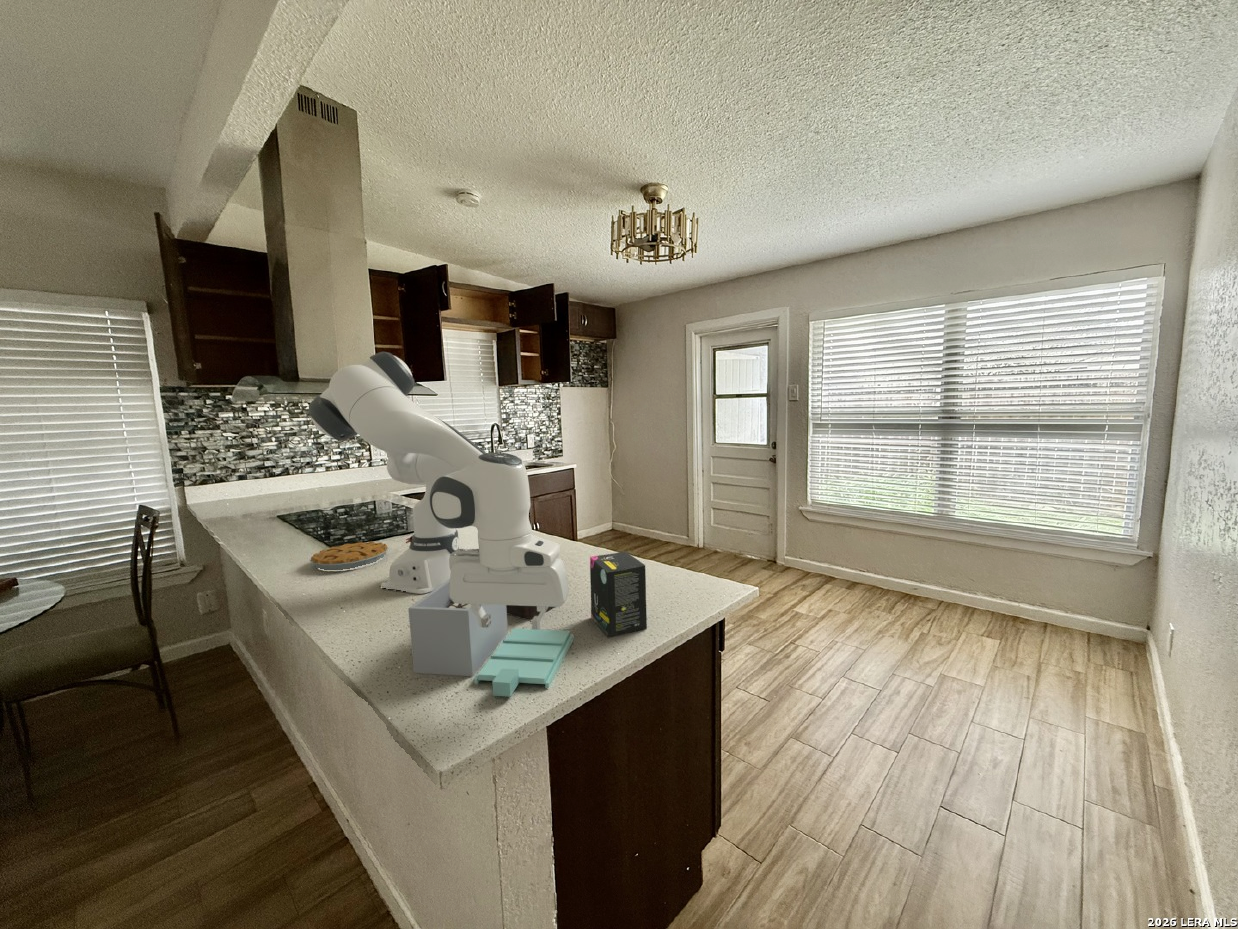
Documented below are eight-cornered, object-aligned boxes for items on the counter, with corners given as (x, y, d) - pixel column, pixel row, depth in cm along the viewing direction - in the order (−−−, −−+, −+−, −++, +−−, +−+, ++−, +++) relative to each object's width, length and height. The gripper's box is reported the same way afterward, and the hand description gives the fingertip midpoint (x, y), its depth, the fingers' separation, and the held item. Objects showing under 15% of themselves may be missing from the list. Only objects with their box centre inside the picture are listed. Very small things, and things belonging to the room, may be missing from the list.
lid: (463, 699, 77) (462, 680, 77) (511, 637, 98) (510, 621, 98) (541, 704, 75) (540, 685, 75) (573, 640, 96) (572, 624, 96)
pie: (403, 554, 159) (401, 540, 159) (353, 576, 138) (351, 560, 137) (350, 551, 164) (348, 537, 164) (294, 572, 143) (292, 557, 142)
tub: (413, 672, 85) (408, 608, 84) (457, 630, 101) (453, 575, 100) (472, 676, 83) (468, 610, 82) (507, 632, 100) (504, 577, 98)
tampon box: (590, 617, 106) (588, 556, 104) (626, 610, 110) (625, 550, 108) (608, 638, 96) (606, 571, 94) (647, 629, 100) (646, 564, 98)
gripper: (438, 554, 76) (445, 633, 77) (559, 556, 73) (563, 638, 75) (457, 543, 82) (462, 616, 84) (569, 544, 79) (572, 620, 81)
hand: (511, 627), depth 79 cm, fingers open, 8 cm apart
